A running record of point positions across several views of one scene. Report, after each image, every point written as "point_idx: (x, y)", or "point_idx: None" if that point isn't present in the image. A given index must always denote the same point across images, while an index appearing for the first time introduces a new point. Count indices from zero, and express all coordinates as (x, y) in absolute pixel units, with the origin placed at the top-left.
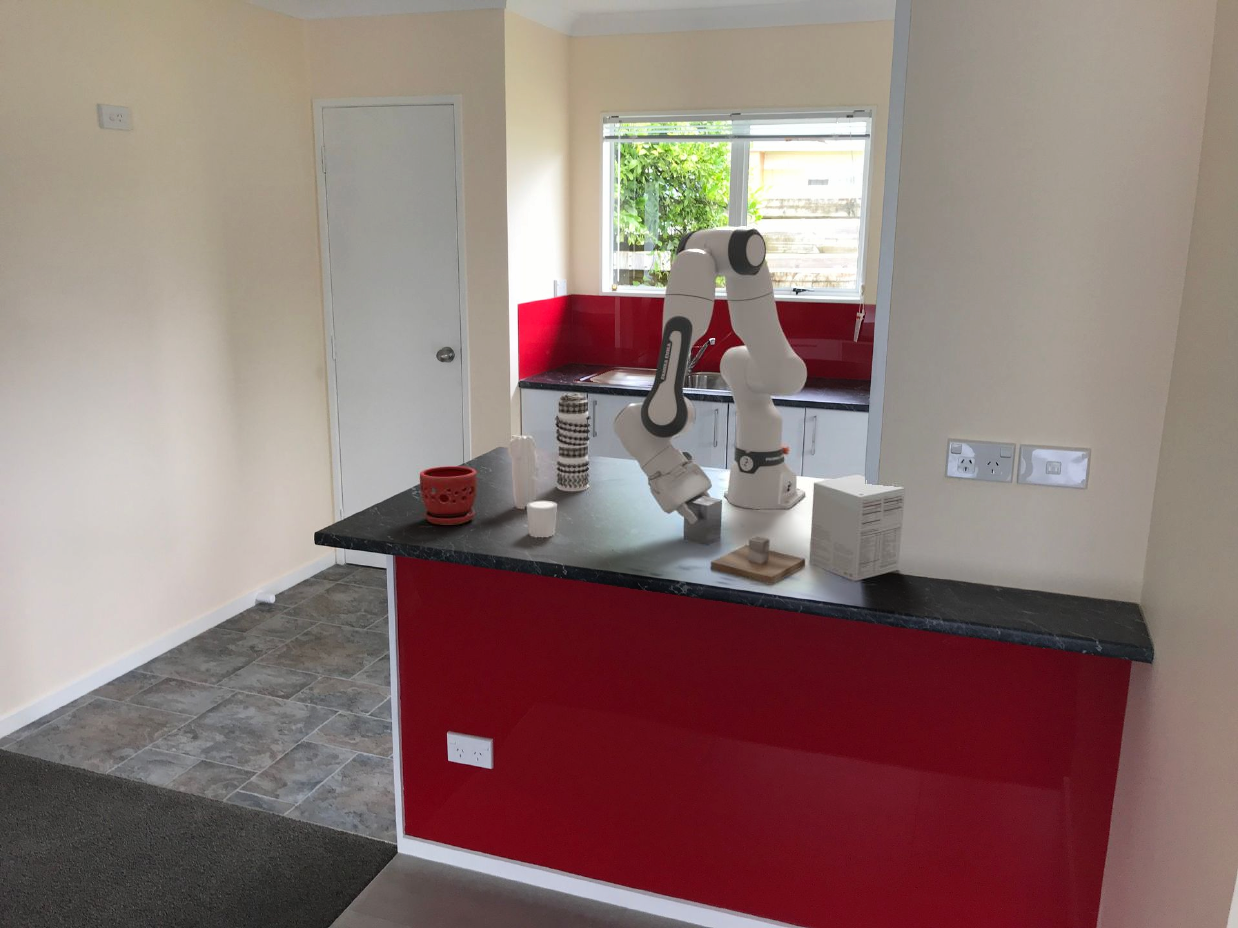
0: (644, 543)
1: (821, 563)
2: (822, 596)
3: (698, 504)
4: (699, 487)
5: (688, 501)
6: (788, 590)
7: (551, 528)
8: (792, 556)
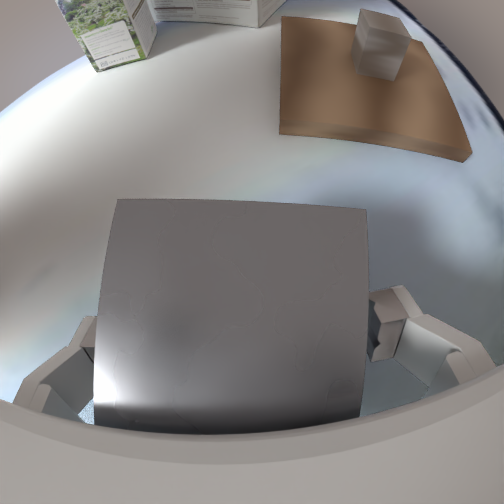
0: None
1: (273, 7)
2: (386, 8)
3: (366, 310)
4: (55, 459)
5: None
6: (411, 34)
7: None
8: (287, 29)
